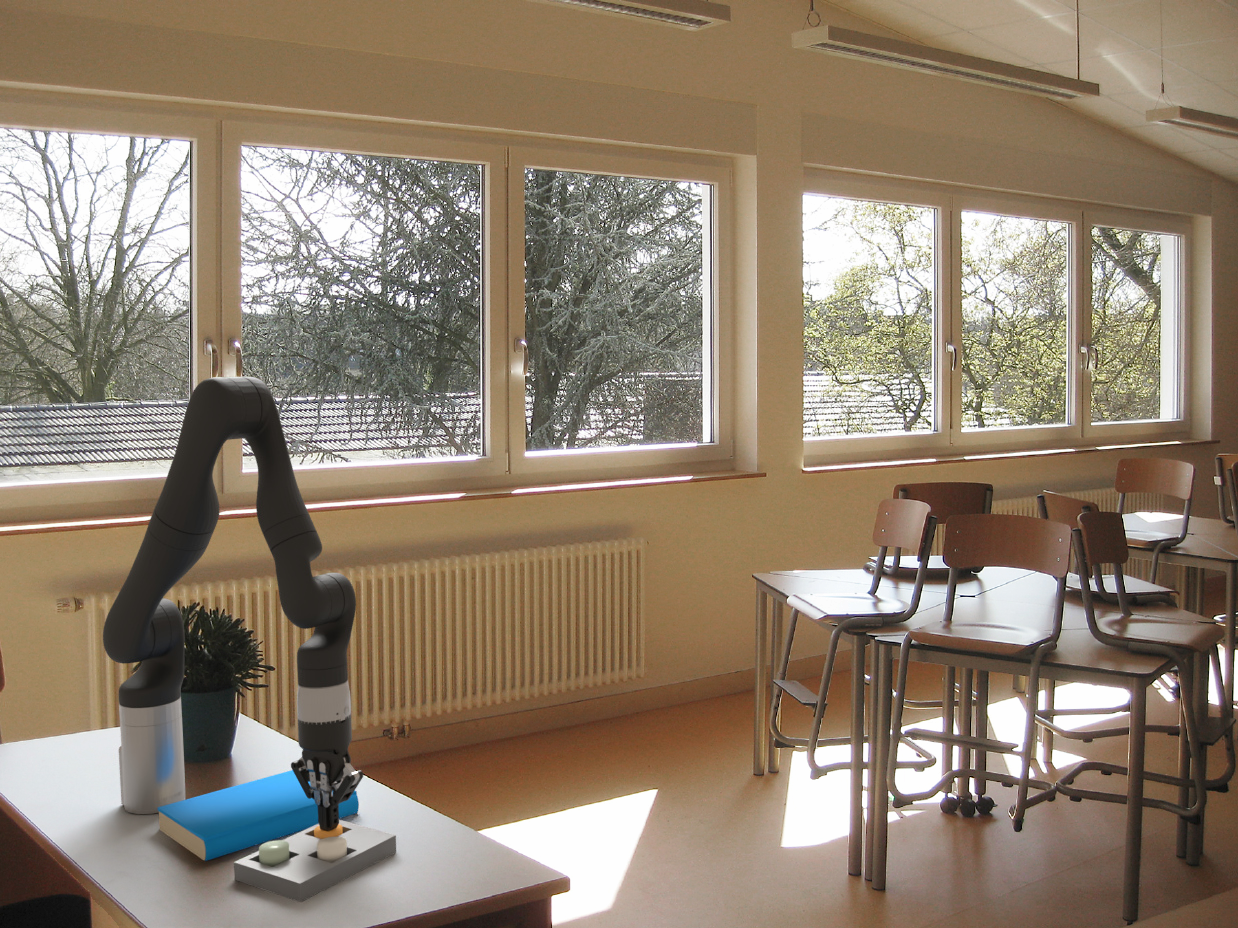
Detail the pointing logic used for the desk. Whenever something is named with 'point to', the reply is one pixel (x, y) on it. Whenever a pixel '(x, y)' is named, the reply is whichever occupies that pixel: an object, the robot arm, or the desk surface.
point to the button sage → (274, 853)
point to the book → (243, 815)
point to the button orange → (327, 832)
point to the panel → (315, 862)
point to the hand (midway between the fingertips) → (329, 828)
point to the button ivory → (331, 849)
